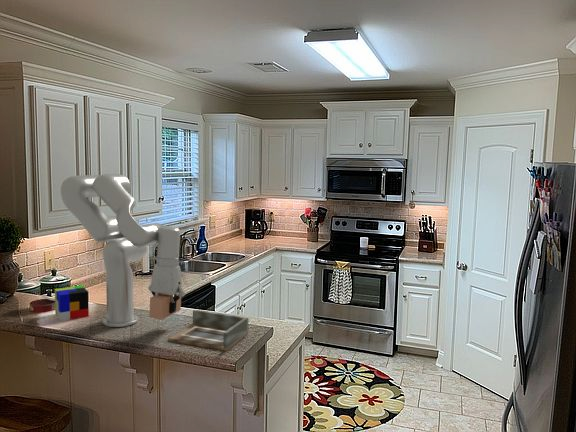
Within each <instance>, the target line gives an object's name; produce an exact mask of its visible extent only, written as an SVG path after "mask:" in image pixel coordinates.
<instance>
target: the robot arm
mask: <svg viewBox="0 0 576 432" xmlns="http://www.w3.org/2000/svg"><path fill="white" fill-rule="evenodd" d="M131 188H132V186H131V182H130V180H129V178H128V177H127V176H125V175H123V174H121V173H112V174H111V173H108V174H107V173H106V174H93V175H92V174H89V175H72V176H69V177H67V178H65V179H64V180H63V181H62V182H61V186H60V196H61V200H62V202H63V204H64V206H65V208H66V209H67V210H68V211H69V212H70V213H71V214H72V215H73V216H74V217H75V218H76V219H77V220H78V221H79V223H80V224H81V226H83V228H84V229H85V230H86V231H87V233H88V234H89V235H90V236H91V238H92V239H93V240H94V241H96V242H97V243H101V244H103V243H106V244H105V245H104V247H103V248H102V249H103V250H102V258H103V263H104V266H105V280H106V281H105V282H106V284H105V287H106V316H105V317H103V319H102V325H104V326H105V327H110V328H120V327H121V328H124V327H129V326H132V325H134V324H136V323H137V322H138V321H139V317H138V316H137V315H136V314H135V311H134V310H135V309H134V307H135V305H134V301H135V300H134V294H135V293H134V273H133V269H132V267H131V265H130V262H135V261H138V260H141V259H143V258H144V257H145V255H146V254H147V252H148V246H155V245H157V252H156V253H157V254H156V256H154V260H155V261H156V263H155V264H154V266H153V270H152V274H151V281H150V282H151V283H150V285H149V286H148V287H147V288H148V290H149V291H150V293H151V294H152V297H153V296H155V295H158V294H165V295H170V299H171V302H170V307H169V313H170V314H171V313H173V312H175V311H176V303H177V301H178V300H179V299H180V298H181V299H182V297H184V296H185V295H186V293H185V291H184V289H183V288H182V271H181V270H182V269H181V266H180V265H179V264H180V263H179V261H180V244H181V230H180V229H179V227H176V226H170V225H168V226H167V225H164V224H161V223H159V222H158V223H157V222H155V223H153V222H152V223H148V224H147V223H146V224H142V225H141V224H139V222H137V220H135V218H134V217H133V215H132V214H131V212H132V211H133V210H134V208H135V207H136V199H135V198H134V197H133V196H132V194H131V193H129V192H130V191H131ZM96 197H99V198H100V199H101V200H102V201H103V203H105V205H106V206H108V207H109V209H110V210H111V211H112V212H113V213H114V214H115V215H106V214H105V213H104V212H103V211H102V209H100V207H99V206H98V205H97V204H95V203H94V202H93V201H91V200H89V199H88V198H96ZM177 293H179V295H178V296H177Z"/></svg>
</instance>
